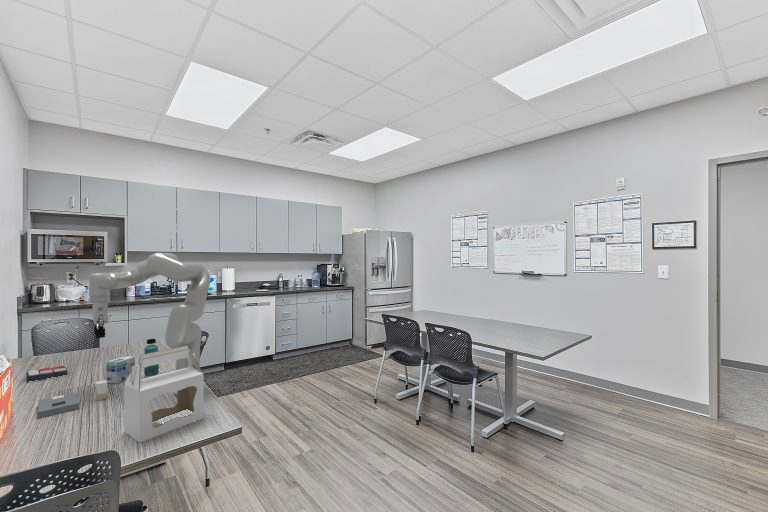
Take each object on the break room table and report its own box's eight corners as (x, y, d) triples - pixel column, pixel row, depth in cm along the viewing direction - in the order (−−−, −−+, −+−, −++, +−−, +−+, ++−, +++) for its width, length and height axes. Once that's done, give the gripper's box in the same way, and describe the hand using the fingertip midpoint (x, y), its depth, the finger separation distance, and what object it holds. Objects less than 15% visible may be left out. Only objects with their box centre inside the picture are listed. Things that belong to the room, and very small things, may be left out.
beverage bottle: (147, 380, 178) (147, 341, 178) (141, 378, 181) (141, 339, 181) (161, 376, 183) (161, 338, 183) (155, 374, 187) (154, 337, 187)
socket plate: (78, 409, 144) (78, 401, 144) (38, 418, 136) (38, 410, 136) (76, 398, 156) (76, 390, 156) (38, 406, 147) (38, 398, 147)
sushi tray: (67, 369, 187) (27, 374, 176) (67, 377, 187) (27, 383, 175) (65, 365, 194) (26, 370, 183) (64, 372, 194) (26, 378, 183)
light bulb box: (116, 384, 173) (116, 362, 173) (105, 383, 174) (105, 361, 174) (135, 376, 183) (135, 356, 183) (125, 376, 185) (125, 355, 185)
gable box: (138, 443, 117) (138, 360, 117) (123, 432, 124) (123, 354, 124) (204, 418, 135) (204, 346, 135) (187, 410, 142) (187, 341, 143)
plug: (107, 399, 154) (107, 382, 154) (97, 401, 152) (96, 384, 152) (106, 396, 158) (106, 379, 158) (95, 398, 155) (95, 381, 155)
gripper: (112, 300, 159) (111, 337, 159) (107, 297, 172) (107, 331, 172) (90, 301, 154) (90, 340, 154) (88, 298, 167) (87, 334, 167)
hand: (99, 335), depth 163 cm, fingers open, 9 cm apart
